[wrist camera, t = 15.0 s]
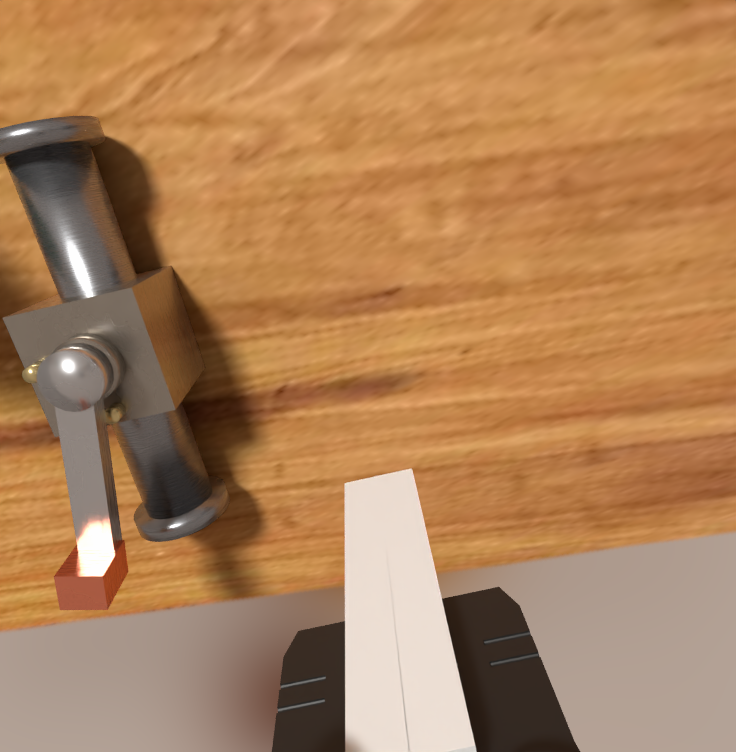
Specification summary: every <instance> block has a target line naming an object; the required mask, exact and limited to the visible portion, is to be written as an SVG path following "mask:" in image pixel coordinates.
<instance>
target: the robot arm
mask: <svg viewBox="0 0 736 752" xmlns="http://www.w3.org/2000/svg"><path fill="white" fill-rule="evenodd" d="M280 685H281V690H280V691H279V699H278V707H277V708H278V713H277V715H276V723H275V731H274V739H273V747H272V752H580V751H579V749H578V747H577V745H576V743H575V742H574V739H573V737H572V734H571V732H570V729H569V727H568V725H567V722H566V720H565V717H564V715H563V712H562V710H561V707H560V705H559V702H558V700H557V697H556V695H555V692H554V690H553V687H552V685H551V683H550V680H549V677H548V675H547V673H546V670H545V668H544V665H543V663H542V660H541V658H540V657H539V654H538V650H537V648H536V645H535V643H534V640H533V638H532V636H531V634H530V631H529V628H528V626H527V623H526V621H525V618H524V616H523V613H522V611H521V608H520V606H519V605H518V604H517V603H516V602H515V601H514V600H513V599H512V598H511V597H509V596H508V595H507V594H506V593H505V592H504V591H503V590H502V589H501V588H500V587H496V588H492V589H487V590H482V591H477V592H472V593H468V594H463V595H458V596H453V597H448V598H444V599H442V598H441V594H440V590H439V585H438V580H437V576H436V571H435V567H434V563H433V558H432V554H431V550H430V545H429V541H428V536H427V532H426V528H425V523H424V519H423V515H422V510H421V506H420V502H419V497H418V493H417V488H416V484H415V480H414V475H413V471H412V469H407V470H403V471H398V472H394V473H389V474H384V475H380V476H375V477H371V478H366V479H362V480H357V481H352V482H348V483H345V621H344V622H340V623H335V624H330V625H325V626H320V627H315V628H311V629H306V630H301V631H298V633H297V634H296V636H295V638H294V640H293V642H292V643H291V645H290V647H289V648H288V650H287V652H286V654H285V655H284V659H283V667H282V675H281V683H280Z"/></svg>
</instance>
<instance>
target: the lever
mask: <svg viewBox="0 0 736 752" xmlns="http://www.w3.org/2000/svg"><path fill="white" fill-rule="evenodd" d="M113 380H114V371H113V367H112V364H111V362H110V360H109V359H108V357H107V356H106V355H105V354H104V353H103V352H102V351H101V350H99V349H98V348H96V347H94V346H92V345H89V344H85V343H72V344H68V345H66V346H64V347H62V348H61V349H59V350H57V351H56V352H54V353H53V354H51V355H49V356H48V357H46V358H45V359H44V360H43V361H42V363H41V364H40V366H39V368H38V371H37V384H38V387H39V390H40V392H41V393H42V395H43V396H44V398H45V399H46V400H47V401H48V402H49V403H51V404H52V405H54V406H55V411H56V418H57V424H58V430H59V436H60V442H61V448H62V454H63V461H64V467H65V473H66V479H67V485H68V491H69V497H70V503H71V510H72V516H73V522H74V528H75V534H76V540H77V545H76V547H75V548H74V549H73V551H72V552H71V554H70V555H69V556H68V558H67V559H66V561H65V562H64V563H63V565H62V566H61V567H60V569H59V570H58V572H57V573H56V574H55V576H54V579H55V585H56V590H57V596H58V601H59V607H60V610H108V608H109V606H110V604H111V603H112V601H113V599H114V597H115V595H116V593H117V591H118V590H119V588H120V586H121V584H122V582H123V580H124V578H125V577H126V575H127V573H128V565H127V558H126V550H125V543H124V540H122V536H121V528H120V521H119V513H118V506H117V498H116V491H115V483H114V476H113V468H112V461H111V453H110V446H109V438H108V431H107V423H106V416H105V408H104V401H103V396H104V395H105V394H106V393H107V392H108V391H109V390H110V388H111V386H112V384H113Z"/></svg>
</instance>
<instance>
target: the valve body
mask: <svg viewBox="0 0 736 752" xmlns="http://www.w3.org/2000/svg"><path fill="white" fill-rule="evenodd" d="M105 140H106V139H105V136H104V133H103V130H102V127H101V125H100V122H99V119H98V118H96V117H92V116H69V117H59V118H50V119H43V120H37V121H32V122H26V123H21V124H17V125H12V126H8V127H5V128H1V129H0V164H1V163H6V165H7V167H8V170H9V172H10V175H11V177H12V180H13V182H14V185H15V187H16V190H17V192H18V195H19V197H20V199H21V202H22V204H23V207H24V209H25V212H26V214H27V217H28V219H29V222H30V224H31V227H32V229H33V232H34V234H35V237H36V239H37V242H38V244H39V246H40V249H41V251H42V254H43V256H44V259H45V261H46V264H47V266H48V269H49V271H50V274H51V276H52V279H53V281H54V284H55V286H56V289H57V291H58V293H59V294H57V295H55V296H52V297H50V298H48V299H45V300H43V301H41V302H38V303H36V304H34V305H31V306H29V307H27V308H24V309H22V310H20V311H17V312H15V313H13V314H10V315H8V316H6V317H3V320H4V323H5V325H6V327H7V329H8V332H9V334H10V336H11V339H12V341H13V343H14V345H15V348H16V350H17V352H18V354H19V357H20V359H21V361H22V363H23V366H24V368H25V369H24V370H23V372H22V377H23V379H24V380H25V381H26V382H28V383H31V384H32V386H33V388H34V391H35V393H36V395H37V397H38V400H39V402H40V404H41V406H42V409H43V411H44V413H45V415H46V418H47V420H48V422H49V424H50V427H51V429H52V431H53V433H54V436H55V437H57V436H59V430H58V424H57V418H56V411H55V406H54V405H52V404H51V403H49V402H48V401H47V400H46V399H45V398H44V396H43V395H42V393H41V392H40V390H39V387H38V384H37V371H38V368H39V366H40V364H41V363H42V361H43V360H44V359H45V358H46V357H48V356H49V355H51V354H53V353H54V352H56V351H57V350H59V349H61V348H62V347H64V346H66V345H68V344H72V343H85V344H89V345H92V346H94V347H96V348H98V349H99V350H101V351H102V352H103V353H104V354H105V355H106V356H107V357H108V359H109V360H110V362H111V364H112V367H113V371H114V380H113V384H112V386H111V388H110V390H109V391H108V392H107V393H106V394H105V395H104V396H103V401H104V408H105V416H106V423H107V425H110V424H111V425H112V427H113V430H114V432H115V435H116V437H117V440H118V442H119V444H120V447H121V449H122V452H123V454H124V457H125V459H126V462H127V464H128V467H129V469H130V472H131V474H132V477H133V479H134V482H135V484H136V487H137V489H138V491H139V494H140V496H141V499H142V501H143V502H142V503H141V504H140V505H139V507H138V508H137V509H136V511H135V514H134V521H135V523H136V526H137V528H138V531H139V533H140V535H141V536H142V537H143V538H144V539H146V540H149V541H155V542H162V541H170V540H175V539H178V538H182V537H185V536H188V535H190V534H193V533H195V532H197V531H199V530H201V529H203V528H205V527H206V526H208V525H209V524H211V523H212V522H214V521H215V520H216V519H217V518H219V517H220V516H221V515H222V514H223V513H224V511H225V510H226V509H227V507H228V505H229V502H230V497H229V494H228V491H227V488H226V485H225V482H224V481H223V480H222V479H221V478H218V477H215V476H208V474H207V472H206V469H205V466H204V463H203V460H202V457H201V455H200V452H199V449H198V446H197V443H196V441H195V438H194V435H193V432H192V429H191V427H190V424H189V421H188V418H187V415H186V412H185V410H184V407H183V404H182V400H183V399H184V397H185V396H186V394H187V393H188V392H189V390H190V389H191V387H192V386H193V385H194V383H195V382H196V380H197V379H198V378H199V376H200V375H201V373H202V372H203V370H204V369H205V365H204V362H203V359H202V356H201V353H200V350H199V347H198V344H197V341H196V338H195V335H194V332H193V329H192V326H191V323H190V320H189V317H188V314H187V311H186V308H185V305H184V302H183V299H182V296H181V293H180V290H179V287H178V285H177V282H176V279H175V276H174V273H173V270H172V267H171V266H169V267H165V268H160V269H156V270H152V271H148V272H143V273H139V274H136V272H135V269H134V266H133V263H132V261H131V258H130V255H129V252H128V249H127V247H126V244H125V241H124V238H123V235H122V233H121V230H120V227H119V224H118V221H117V219H116V216H115V213H114V210H113V207H112V204H111V202H110V199H109V196H108V193H107V190H106V188H105V185H104V182H103V179H102V176H101V174H100V171H99V168H98V165H97V162H96V159H95V157H94V154H93V151H92V148H91V147H93V146H95V145H98V144H100V143H102V142H104V141H105Z"/></svg>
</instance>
